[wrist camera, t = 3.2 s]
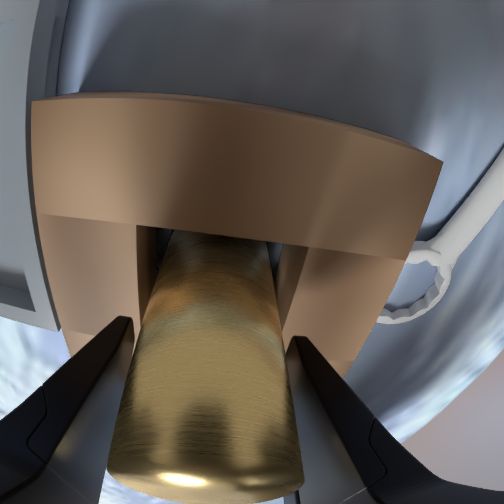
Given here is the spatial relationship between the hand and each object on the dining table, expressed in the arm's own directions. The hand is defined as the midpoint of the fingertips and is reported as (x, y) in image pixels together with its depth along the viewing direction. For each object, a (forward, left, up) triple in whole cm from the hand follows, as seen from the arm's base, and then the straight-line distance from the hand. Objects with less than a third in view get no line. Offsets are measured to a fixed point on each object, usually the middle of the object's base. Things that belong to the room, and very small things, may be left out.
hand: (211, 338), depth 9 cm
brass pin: (0, 0, -4) cm, 4 cm away
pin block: (0, 0, -4) cm, 4 cm away
